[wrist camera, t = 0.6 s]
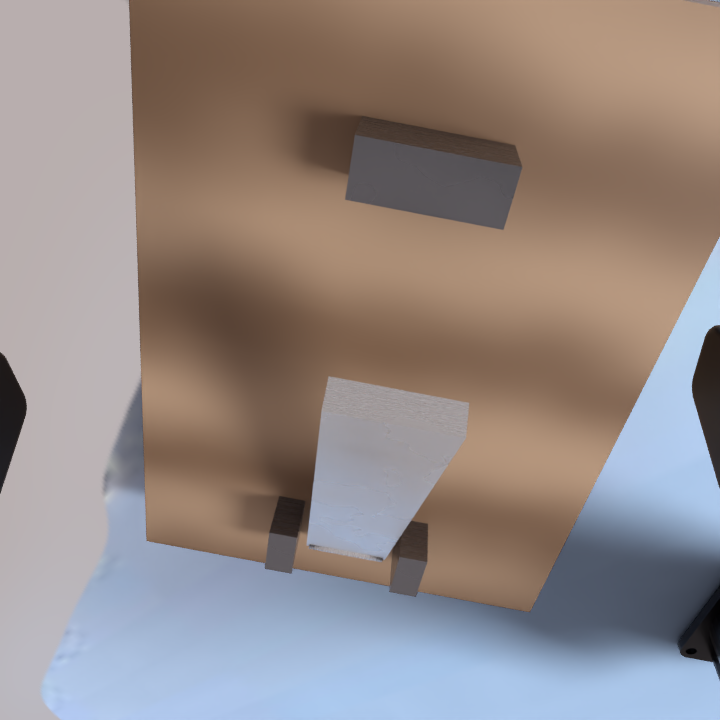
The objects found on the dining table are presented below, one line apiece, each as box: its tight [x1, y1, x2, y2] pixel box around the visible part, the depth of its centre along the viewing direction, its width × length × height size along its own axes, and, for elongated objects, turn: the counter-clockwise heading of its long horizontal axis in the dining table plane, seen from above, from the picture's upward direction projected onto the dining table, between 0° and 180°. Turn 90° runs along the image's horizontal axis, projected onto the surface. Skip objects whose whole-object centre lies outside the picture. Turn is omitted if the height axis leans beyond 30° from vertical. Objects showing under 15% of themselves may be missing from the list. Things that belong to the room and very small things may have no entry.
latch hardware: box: [265, 116, 522, 597], centre depth 21 cm, size 16×6×2 cm, turn 171°
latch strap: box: [307, 376, 469, 562], centre depth 20 cm, size 14×3×1 cm, turn 171°
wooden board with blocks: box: [129, 0, 720, 612], centre depth 22 cm, size 22×16×3 cm
